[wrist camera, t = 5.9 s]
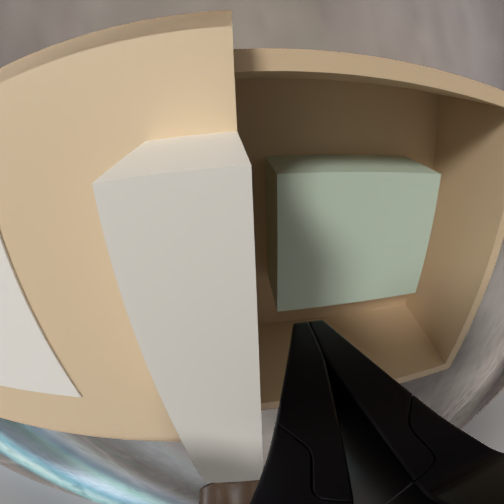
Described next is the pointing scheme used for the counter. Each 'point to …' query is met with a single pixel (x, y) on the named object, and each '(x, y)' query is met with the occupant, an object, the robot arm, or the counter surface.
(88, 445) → the counter surface
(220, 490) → the plant pot
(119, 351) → the lid
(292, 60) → the mailer box
